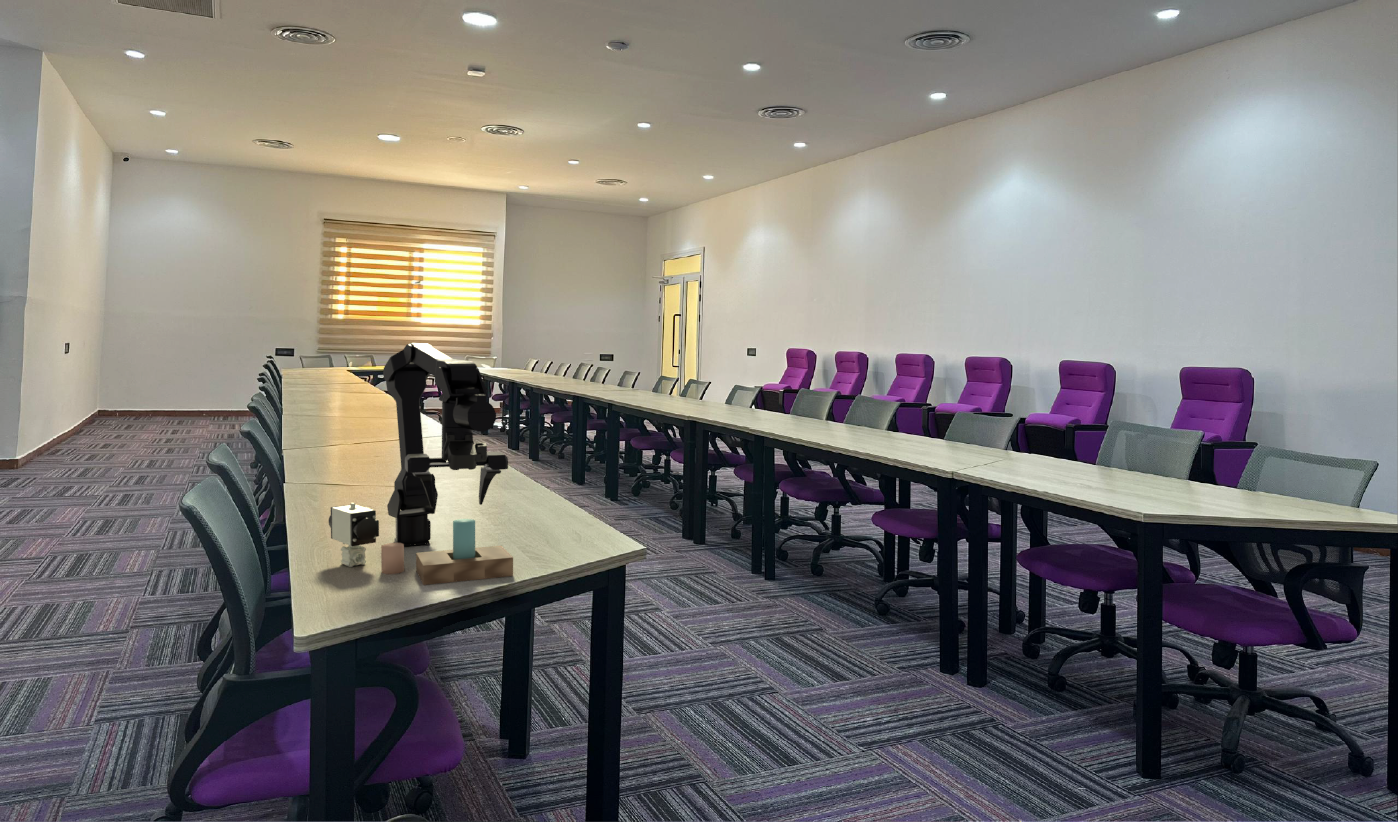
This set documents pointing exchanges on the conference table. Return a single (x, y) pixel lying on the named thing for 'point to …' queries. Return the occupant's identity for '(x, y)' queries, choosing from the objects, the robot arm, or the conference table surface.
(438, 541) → the conference table surface
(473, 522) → the tall pin
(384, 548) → the short pin
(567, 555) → the conference table surface
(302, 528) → the conference table surface
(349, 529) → the pneumatic valve
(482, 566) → the bore board
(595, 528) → the conference table surface
